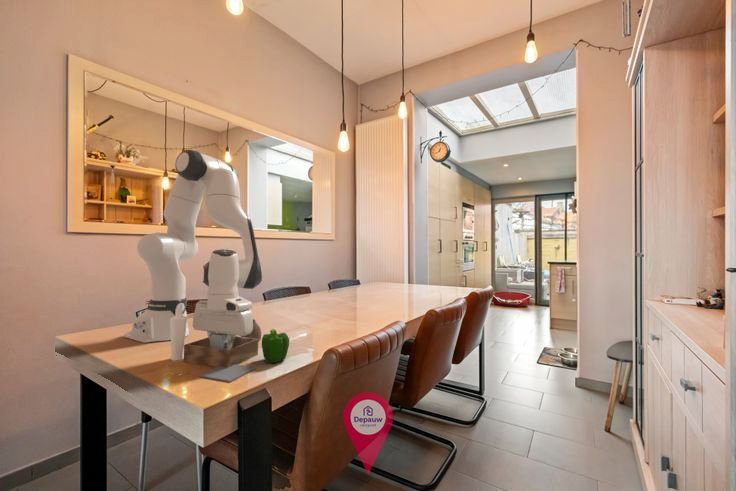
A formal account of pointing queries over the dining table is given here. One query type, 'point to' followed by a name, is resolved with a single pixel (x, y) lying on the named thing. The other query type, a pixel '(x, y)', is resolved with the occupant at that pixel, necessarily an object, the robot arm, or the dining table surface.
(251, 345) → the walnut crate
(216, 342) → the block
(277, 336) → the bell pepper
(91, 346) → the dining table surface
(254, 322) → the vase
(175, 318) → the perfume bottle
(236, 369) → the pad
